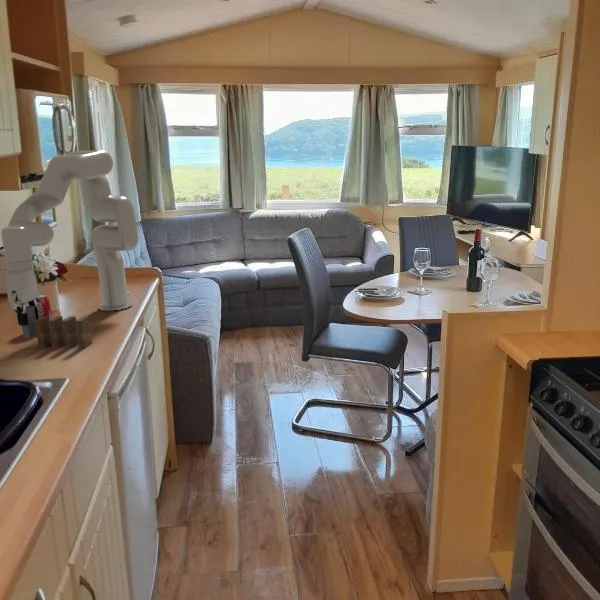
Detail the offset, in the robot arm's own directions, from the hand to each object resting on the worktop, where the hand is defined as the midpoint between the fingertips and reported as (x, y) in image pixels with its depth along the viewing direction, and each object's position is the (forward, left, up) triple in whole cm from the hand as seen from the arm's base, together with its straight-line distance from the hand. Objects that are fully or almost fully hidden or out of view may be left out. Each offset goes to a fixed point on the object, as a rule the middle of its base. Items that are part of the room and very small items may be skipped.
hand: (28, 322), depth 196 cm
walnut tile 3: (0, +9, -8) cm, 12 cm away
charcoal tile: (0, 0, -4) cm, 4 cm away
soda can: (-16, -6, -8) cm, 19 cm away
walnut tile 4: (0, +14, -8) cm, 16 cm away
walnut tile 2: (0, +5, -8) cm, 9 cm away
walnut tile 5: (0, +18, -8) cm, 20 cm away
